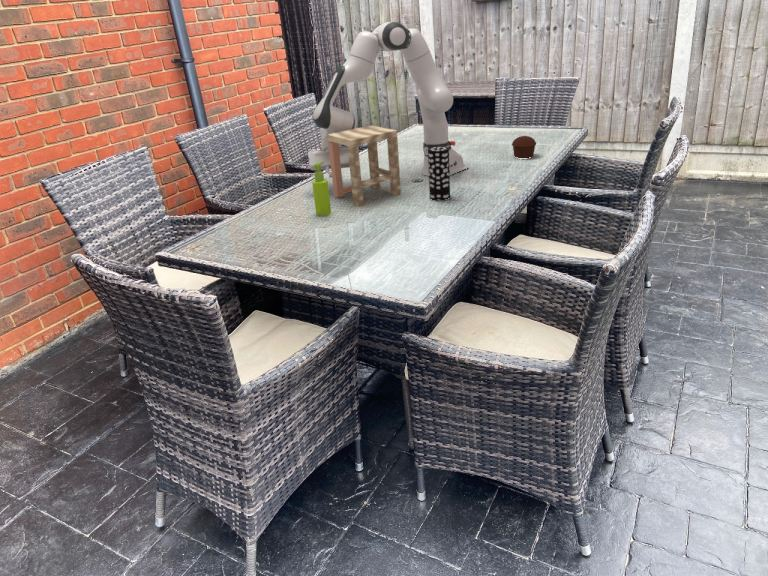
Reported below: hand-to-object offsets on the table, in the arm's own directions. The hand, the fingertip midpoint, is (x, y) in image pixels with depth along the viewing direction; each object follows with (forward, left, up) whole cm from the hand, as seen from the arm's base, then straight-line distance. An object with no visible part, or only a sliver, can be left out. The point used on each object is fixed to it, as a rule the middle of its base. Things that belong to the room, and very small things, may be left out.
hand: (333, 176), depth 248 cm
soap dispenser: (+15, +16, -9) cm, 24 cm away
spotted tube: (-28, +36, -9) cm, 46 cm away
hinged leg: (-5, +3, -8) cm, 10 cm away
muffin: (-97, +18, -9) cm, 99 cm away
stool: (-9, +10, -8) cm, 16 cm away
